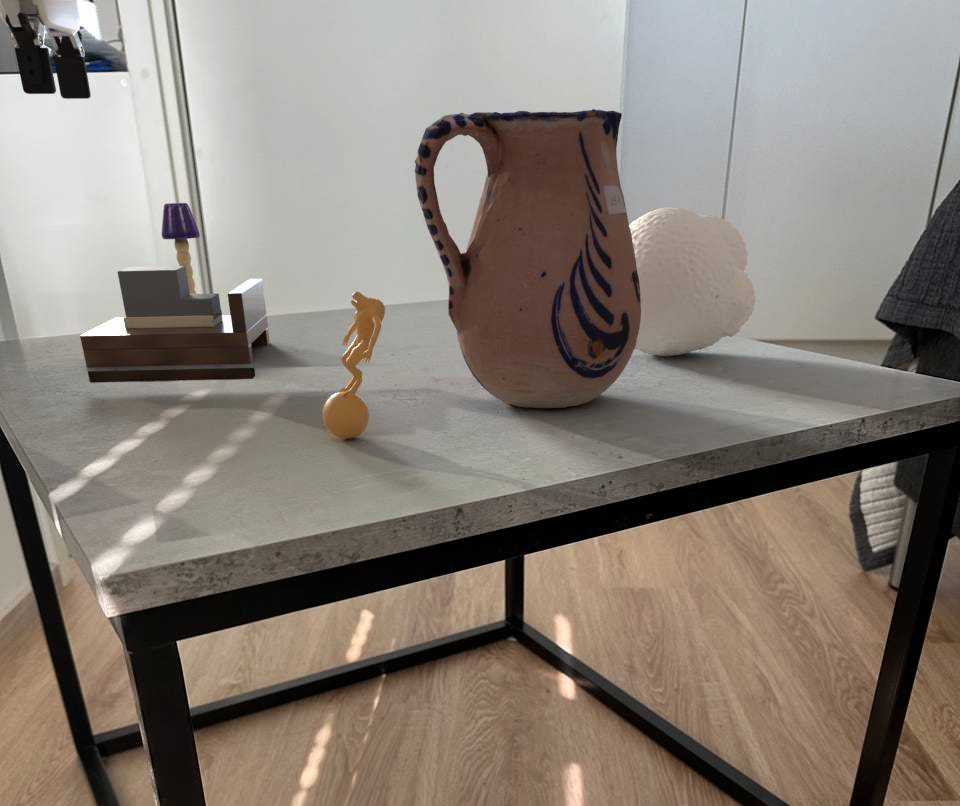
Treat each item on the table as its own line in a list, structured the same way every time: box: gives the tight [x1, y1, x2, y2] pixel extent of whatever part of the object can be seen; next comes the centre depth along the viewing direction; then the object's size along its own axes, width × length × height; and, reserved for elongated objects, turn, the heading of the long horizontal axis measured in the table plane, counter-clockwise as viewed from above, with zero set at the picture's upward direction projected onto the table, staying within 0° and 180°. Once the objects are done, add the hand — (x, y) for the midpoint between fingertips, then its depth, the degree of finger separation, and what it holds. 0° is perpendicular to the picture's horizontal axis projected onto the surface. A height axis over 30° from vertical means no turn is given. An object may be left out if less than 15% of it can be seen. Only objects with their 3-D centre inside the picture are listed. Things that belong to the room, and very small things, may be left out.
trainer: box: [117, 265, 223, 329], centre depth 104 cm, size 10×4×6 cm, turn 91°
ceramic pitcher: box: [414, 108, 641, 409], centre depth 85 cm, size 18×21×25 cm
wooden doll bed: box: [79, 278, 271, 383], centre depth 105 cm, size 18×12×9 cm, turn 91°
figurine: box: [322, 291, 386, 440], centre depth 78 cm, size 8×6×12 cm
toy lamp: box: [161, 202, 201, 294], centre depth 119 cm, size 5×5×17 cm
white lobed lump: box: [629, 206, 770, 357], centre depth 107 cm, size 20×18×16 cm
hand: (59, 96), depth 100 cm, fingers open, 9 cm apart
